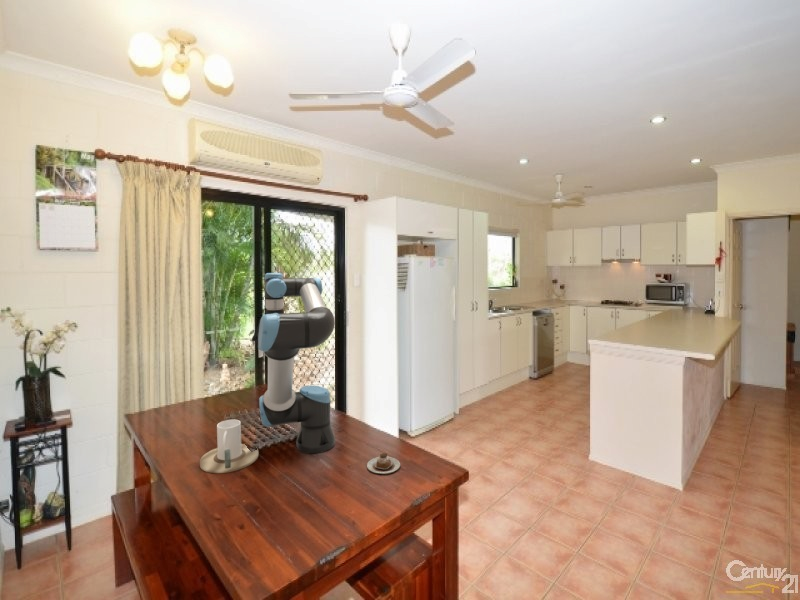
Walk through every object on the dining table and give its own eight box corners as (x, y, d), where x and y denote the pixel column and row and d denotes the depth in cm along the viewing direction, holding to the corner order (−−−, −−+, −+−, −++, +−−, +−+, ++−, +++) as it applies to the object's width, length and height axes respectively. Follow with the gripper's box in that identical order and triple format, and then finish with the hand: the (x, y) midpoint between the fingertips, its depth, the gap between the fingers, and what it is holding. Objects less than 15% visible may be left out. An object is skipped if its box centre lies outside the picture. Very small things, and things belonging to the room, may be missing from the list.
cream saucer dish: (267, 448, 155) (267, 430, 154) (242, 474, 135) (241, 454, 134) (219, 445, 157) (218, 428, 156) (187, 471, 137) (186, 451, 136)
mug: (234, 464, 139) (233, 432, 138) (209, 465, 139) (208, 432, 138) (245, 449, 151) (244, 418, 150) (222, 449, 150) (221, 419, 149)
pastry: (406, 465, 143) (406, 453, 142) (387, 480, 133) (387, 467, 132) (380, 456, 149) (380, 444, 149) (359, 469, 139) (359, 457, 139)
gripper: (305, 308, 172) (306, 356, 174) (251, 307, 174) (252, 354, 176) (299, 310, 164) (300, 360, 166) (242, 309, 167) (244, 358, 169)
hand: (275, 357), depth 171 cm, fingers open, 13 cm apart
